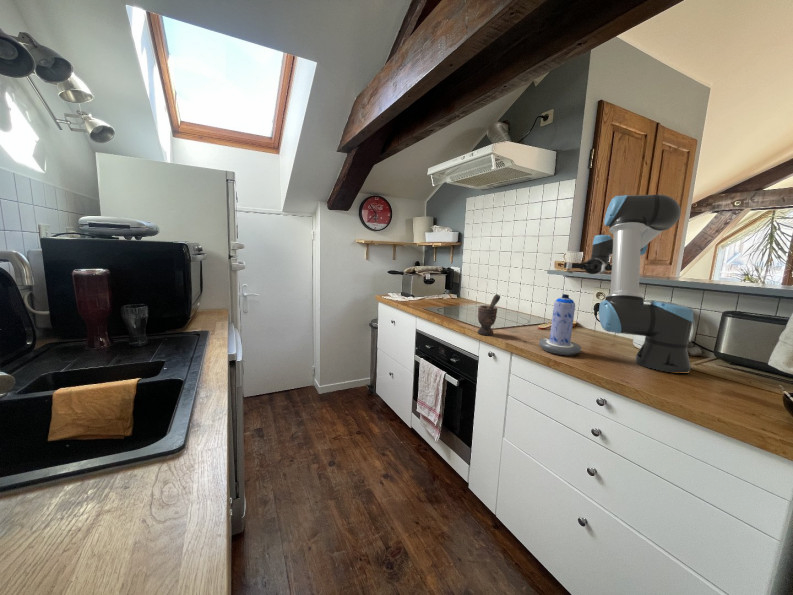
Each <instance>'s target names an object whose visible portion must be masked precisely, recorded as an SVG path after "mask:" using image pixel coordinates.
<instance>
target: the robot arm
mask: <svg viewBox="0 0 793 595" xmlns="http://www.w3.org/2000/svg"><path fill="white" fill-rule="evenodd" d="M681 212H682V210H681V205H679V203H678V202H677V200H676V199H674V198H672V197H671V196H669V195H666V194H630V195H629V194H625V195H615V196H614V197H613V198H611V200H610V202H609V204H608V207H607V209H606V212H605V215H604V220H603V224H604V226H605V227H609V228H608V230H609V233H610V234H596V235H594V238H593V240H592V248H591V256H590V259H588V260H586V261H585V262H584V261H583V262H580V263H579V262H564V264H563V268H564V269H566V270H567V271H569V270H571V269H579V270H583V271H585V272H586V273H587V274H590V275H593V274H596V275H597V273H598V274H599V273H600V274H603V273H605V272H606V271H607V272H608V271H609V272H610V271H611V272H610V273H611V278H610V292H609V293H608V294H606V296H605V298H604V300H602V301H600V302H599V308H598V317H599V323H600V326H601V328H602V329H603V330H604V331H606V332H609V333H610V332H611V333H615V334H624V335H632V336H640V337H641V336H642V337H644V342H643V344H642V346H641V347H640V348H639V350H638V352H637V353H636V355H635V360H634V361H635V363H636V364H638V365H640V366H642V367H644V366H645V367H644V368H647V367H648V369H650V368H652V369H651V370H654V369H656V370H655V371H657V370H662V371H667V372H688V371H690V372H691V366H692V364H691V362H690V356H689V352H688V348H689V346H688V345H689V341H690V336H691V332H692V327H693V323H694V310H693V309H692V308H690V307H688V306H685V305H679V304H675V303H670V302H666V301H660V300H651V302H650V304H648V303H644V301H645V300H644V299H645V298H644V296H643V295H641V294H640V293H639V292H640V273H641V272H640V271H641V269H640V268H641V256H643V255H645V254H646V252H647V250H648V244H650V242H651V241H653V240H654V239H655V238H657V236H659V235H660V234H661V233H663V232H665V231H667V230H670V229H671V228H672V227H673V226H674V225H676V223H677V222H678V221H679V220H680V218H681ZM611 234H612V235H613V238H612V235H611ZM610 255H612V256H611V257H612V258H611V263H609V258H610ZM662 371H661V372H662ZM667 372H666V373H667Z"/></svg>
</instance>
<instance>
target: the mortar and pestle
mask: <svg viewBox="0 0 793 595" xmlns="http://www.w3.org/2000/svg"><path fill="white" fill-rule="evenodd" d="M500 299H501V295H499V294H495V295H494V296H493V297H492V299H491V302H490V304H488V305H486V304H485V305H484V304H483V305H479V306H478V308H477V320H478V323H479V325H480V326H481V327H480V328H478V330H477V332H476V333H477V334H479V335H482V336H494V331H493V329H492V328H491V327H492V326H493V325H495V322H496V320H497V315H498V314H497V313H498V307H496V305H497V304H498V303H499V301H500Z"/></svg>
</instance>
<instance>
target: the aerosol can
mask: <svg viewBox="0 0 793 595" xmlns="http://www.w3.org/2000/svg"><path fill="white" fill-rule="evenodd" d="M575 310H576V302H575V301H574V300H573V299H571V298H570V295H569V294H566V293H564V294H563V293H562V296H561V297H558V298H557V299H556V300H554V301H553V308H552V316H551V325H550V334H549V338H550V340H549V342H550V343H551V344H554V345H559V346H570V345H571V344H570V342H572V341H571V340H572V333H573V326H574V325H573V324H574V317H575Z"/></svg>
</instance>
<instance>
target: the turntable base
mask: <svg viewBox="0 0 793 595" xmlns="http://www.w3.org/2000/svg"><path fill="white" fill-rule="evenodd" d="M542 350H543V351H544V352H546V353H548V354H549V353H550V354H552V355H556V356H562V355H566V356H565V357H572V355H574V356H575V355H576V354H577V353H561V352H555V351H551V350H548V349H545V348H543V347H542Z"/></svg>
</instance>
